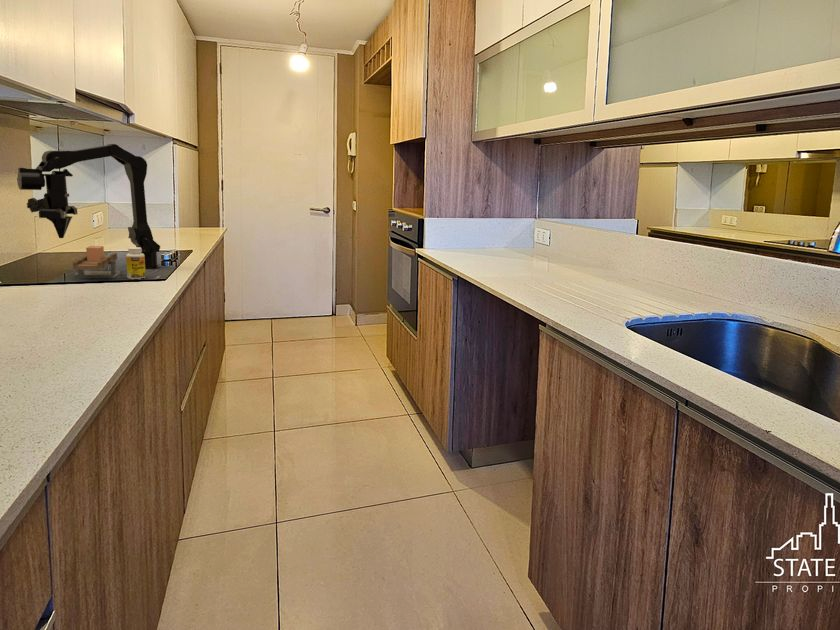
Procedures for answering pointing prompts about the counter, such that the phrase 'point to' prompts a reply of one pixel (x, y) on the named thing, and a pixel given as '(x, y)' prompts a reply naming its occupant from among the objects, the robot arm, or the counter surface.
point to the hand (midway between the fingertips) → (61, 238)
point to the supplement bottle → (135, 263)
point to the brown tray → (94, 263)
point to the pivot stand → (98, 273)
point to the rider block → (95, 253)
